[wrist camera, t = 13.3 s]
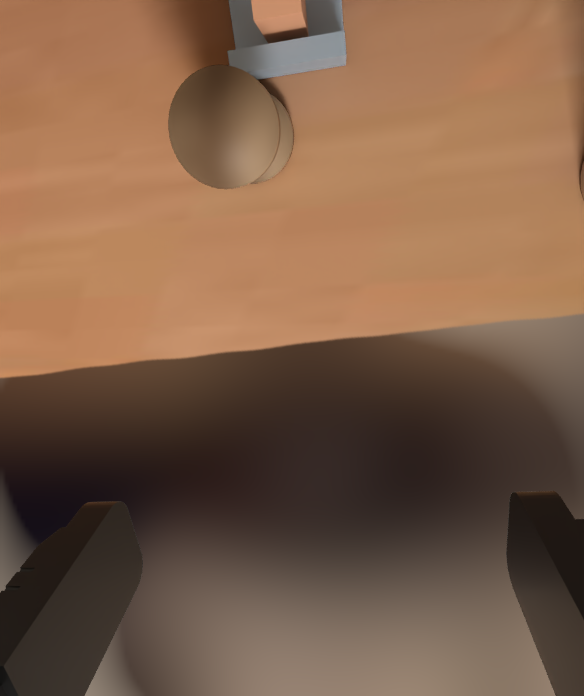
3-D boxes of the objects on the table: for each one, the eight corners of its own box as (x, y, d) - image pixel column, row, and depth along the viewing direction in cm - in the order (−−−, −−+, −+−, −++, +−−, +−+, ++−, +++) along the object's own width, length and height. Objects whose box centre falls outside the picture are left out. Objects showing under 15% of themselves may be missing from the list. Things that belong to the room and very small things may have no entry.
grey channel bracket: (336, -70, 32) (335, -103, 28) (345, 67, 35) (346, 54, 31) (224, -47, 33) (208, -76, 29) (243, 84, 36) (230, 74, 32)
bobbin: (288, 82, 36) (269, 55, 27) (298, 177, 38) (285, 181, 29) (201, 96, 37) (157, 74, 28) (217, 188, 39) (181, 195, 30)
